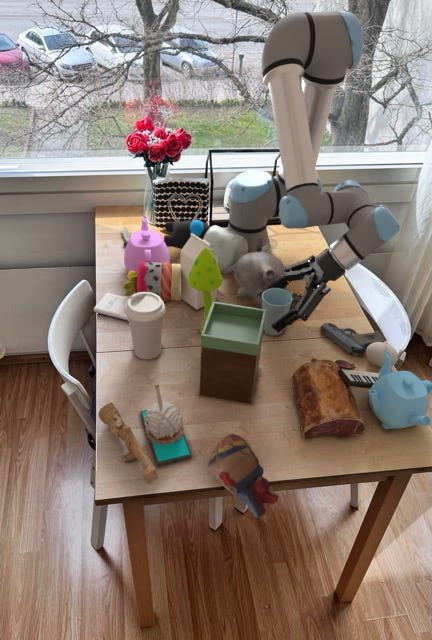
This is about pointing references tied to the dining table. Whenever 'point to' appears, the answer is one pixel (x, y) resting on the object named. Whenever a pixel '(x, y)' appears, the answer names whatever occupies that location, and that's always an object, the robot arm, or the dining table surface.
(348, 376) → the midi keyboard
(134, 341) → the coffee cup
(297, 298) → the pendant
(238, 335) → the tray
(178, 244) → the toy
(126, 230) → the knife
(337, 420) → the cured meat
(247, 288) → the piggy bank
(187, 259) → the milk carton
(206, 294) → the mushroom
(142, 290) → the cake
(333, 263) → the robot arm
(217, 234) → the planter
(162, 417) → the decorative ornament
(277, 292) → the cup
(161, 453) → the smartphone
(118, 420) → the figurine
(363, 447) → the dining table surface
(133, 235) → the teapot
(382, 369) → the teapot
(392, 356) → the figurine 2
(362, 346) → the handgun
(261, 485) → the anatomical model
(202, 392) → the stand
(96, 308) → the hard drive
